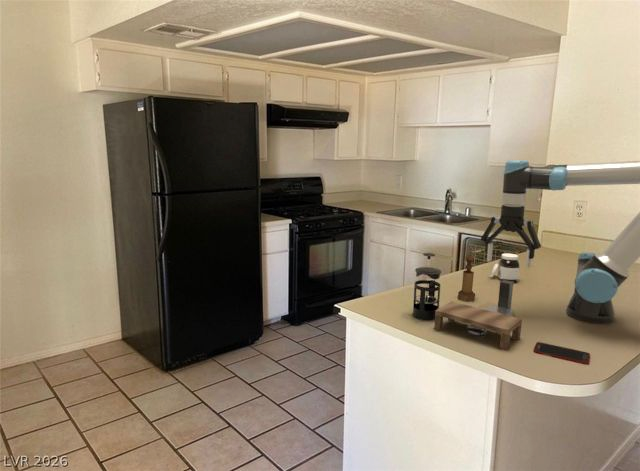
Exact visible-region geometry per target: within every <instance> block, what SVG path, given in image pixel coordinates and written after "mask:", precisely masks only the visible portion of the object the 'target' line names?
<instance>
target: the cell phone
mask: <svg viewBox="0 0 640 471" xmlns="http://www.w3.org/2000/svg"><path fill="white" fill-rule="evenodd" d="M533 353H534V354H538V355H541V356H545V357H551V358H556V359H560V360H563V361H568V362H572V363H578V364H581V365H586V366H588V365H590V359H591V354H590V352H586V351H582V350H578V349H573V348H569V347H565V346H559V345H556V344H555V345H554V344H549V343H545V342H542V341H541V342H540V341H537V342H535V344H534V347H533Z"/></svg>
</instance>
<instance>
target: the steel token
mask: <svg viewBox="0 0 640 471" xmlns="http://www.w3.org/2000/svg"><path fill="white" fill-rule="evenodd" d="M466 334H467V335H468V336H471V337H474V338H484V337H486V335H487V329H485V328H481V327H478V326H474V325H470V324H468V325H467V326H466Z"/></svg>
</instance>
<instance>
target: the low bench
mask: <svg viewBox="0 0 640 471" xmlns="http://www.w3.org/2000/svg"><path fill="white" fill-rule="evenodd" d="M484 309H485V308H479V307H476V306H472V305H468V304H464V303H460V302H457V301H453V300H452V301H449V302H447V303H446V304H444V305H442V306H441V307H439V309H437V310H435V320H434V324H433V327H434V328H433V329H434V330H437V331H441V330H443V326H444V325H443V324H444V318H446V319H447V321H449V322H455V321H456V322H460V323H462V324H463V323H464V324H467V325H474V326H478V327H481V328H485V329H486V330H490V331H493V332H496V333H499V334H500V344H499V349H501V350H504V351H508V350H509V348H510V341H511V340H510V338H511V339H513V340H517V341H519V340H520V339H521V333H522V324H523V323H522V322H523V319H522V318H519V317H516V316H513V317H512V316H508V315H504V314H500V313H496V312H492V311H488V310H484Z"/></svg>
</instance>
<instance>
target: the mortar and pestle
mask: <svg viewBox="0 0 640 471" xmlns="http://www.w3.org/2000/svg"><path fill="white" fill-rule="evenodd" d="M464 259H465V261H466V263H467V264H466V265H465V269H466V270H463V271H462V272H463V274H462V284H461V290H459V291H458V292H457V298H458V300H460V301H463V302H474V301H475V300H476V293H475V292H474V290H473V287H474V286H473V285H474V273H475V272H474V271H472V268H473V265H472V263H473V261H474V256H473V254H466V256H465V258H464Z"/></svg>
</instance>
